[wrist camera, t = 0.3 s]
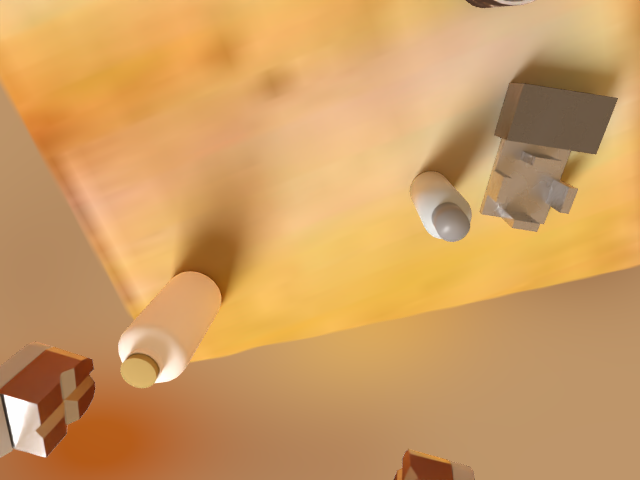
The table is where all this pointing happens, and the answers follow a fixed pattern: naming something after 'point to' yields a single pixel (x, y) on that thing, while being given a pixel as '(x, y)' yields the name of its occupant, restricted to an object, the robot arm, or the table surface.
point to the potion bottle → (169, 330)
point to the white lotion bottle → (440, 206)
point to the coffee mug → (497, 3)
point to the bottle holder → (541, 150)
